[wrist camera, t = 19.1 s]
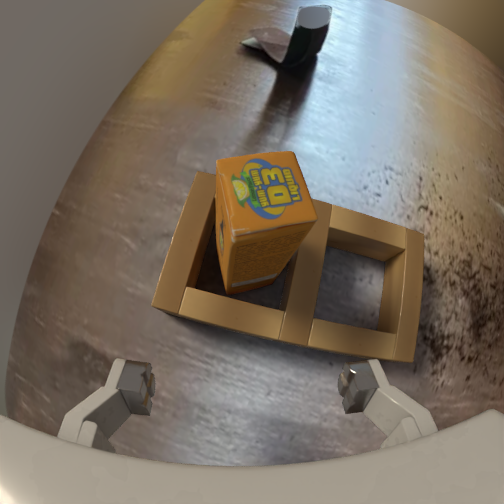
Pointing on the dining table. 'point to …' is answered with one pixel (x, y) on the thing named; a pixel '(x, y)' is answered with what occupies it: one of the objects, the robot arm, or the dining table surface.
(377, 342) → the rack
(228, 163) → the supplement box
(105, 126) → the dining table surface
